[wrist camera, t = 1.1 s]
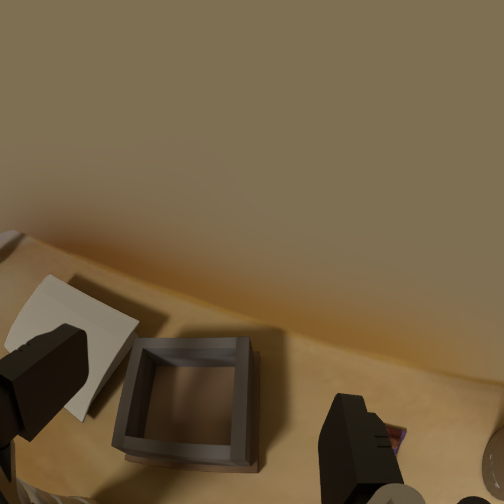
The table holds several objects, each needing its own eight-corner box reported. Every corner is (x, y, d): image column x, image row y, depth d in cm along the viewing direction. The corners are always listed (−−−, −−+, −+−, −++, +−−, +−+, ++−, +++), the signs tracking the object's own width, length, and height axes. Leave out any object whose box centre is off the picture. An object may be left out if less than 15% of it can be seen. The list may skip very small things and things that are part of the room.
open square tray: (260, 356, 34) (255, 331, 31) (258, 473, 25) (251, 465, 21) (148, 356, 35) (131, 332, 32) (129, 461, 26) (105, 449, 22)
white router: (63, 281, 47) (52, 264, 44) (166, 332, 38) (155, 313, 36) (7, 348, 38) (-8, 333, 35) (96, 432, 29) (78, 420, 26)
